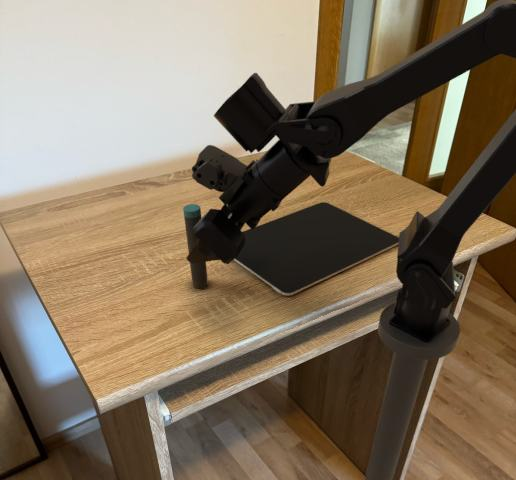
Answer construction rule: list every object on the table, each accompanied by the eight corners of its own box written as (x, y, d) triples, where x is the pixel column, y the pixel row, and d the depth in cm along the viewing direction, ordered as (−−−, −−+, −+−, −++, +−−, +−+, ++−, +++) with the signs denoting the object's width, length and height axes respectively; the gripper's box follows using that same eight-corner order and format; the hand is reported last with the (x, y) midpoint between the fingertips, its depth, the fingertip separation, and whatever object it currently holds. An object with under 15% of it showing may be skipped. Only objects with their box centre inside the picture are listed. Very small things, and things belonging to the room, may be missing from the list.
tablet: (286, 295, 73) (211, 243, 85) (285, 299, 73) (211, 246, 85) (403, 239, 85) (324, 201, 97) (402, 243, 85) (323, 204, 97)
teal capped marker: (211, 284, 76) (203, 207, 68) (199, 291, 75) (190, 213, 67) (201, 279, 78) (193, 202, 69) (189, 285, 76) (179, 207, 68)
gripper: (249, 106, 66) (183, 178, 76) (201, 155, 53) (128, 235, 62) (303, 168, 70) (234, 230, 79) (271, 229, 56) (193, 294, 66)
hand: (200, 244), depth 72 cm, fingers open, 9 cm apart
